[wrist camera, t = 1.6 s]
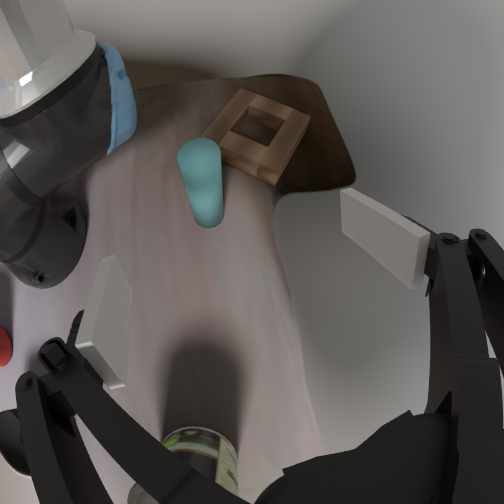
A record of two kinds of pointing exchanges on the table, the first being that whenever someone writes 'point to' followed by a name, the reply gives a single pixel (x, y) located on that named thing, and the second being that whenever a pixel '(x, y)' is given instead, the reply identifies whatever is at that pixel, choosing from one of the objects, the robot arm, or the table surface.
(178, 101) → the table surface
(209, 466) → the coffee can
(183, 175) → the teal pin
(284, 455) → the table surface
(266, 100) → the walnut hole block
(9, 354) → the beer can
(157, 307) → the table surface
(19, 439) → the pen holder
